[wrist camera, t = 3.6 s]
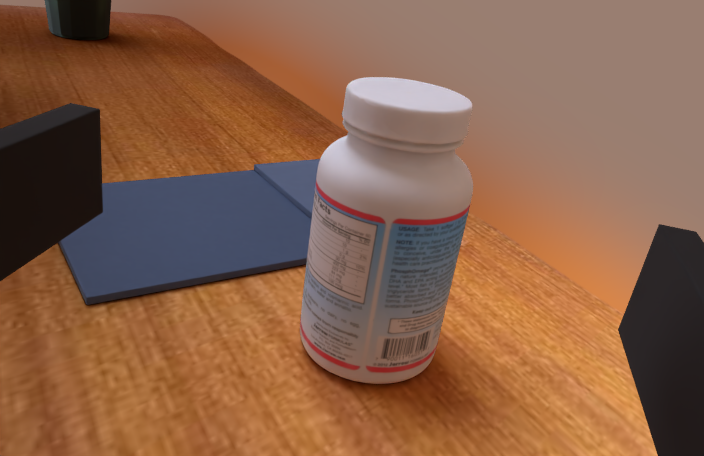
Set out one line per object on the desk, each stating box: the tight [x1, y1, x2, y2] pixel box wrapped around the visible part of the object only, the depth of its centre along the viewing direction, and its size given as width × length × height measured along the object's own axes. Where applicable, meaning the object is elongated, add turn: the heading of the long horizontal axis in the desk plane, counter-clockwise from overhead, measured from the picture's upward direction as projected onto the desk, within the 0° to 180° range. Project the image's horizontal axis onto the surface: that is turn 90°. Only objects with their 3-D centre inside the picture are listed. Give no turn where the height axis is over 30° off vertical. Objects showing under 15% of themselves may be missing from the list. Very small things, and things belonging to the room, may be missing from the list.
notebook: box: [58, 159, 320, 305], centre depth 37 cm, size 12×20×1 cm, turn 123°
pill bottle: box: [300, 77, 473, 384], centre depth 25 cm, size 6×6×11 cm
